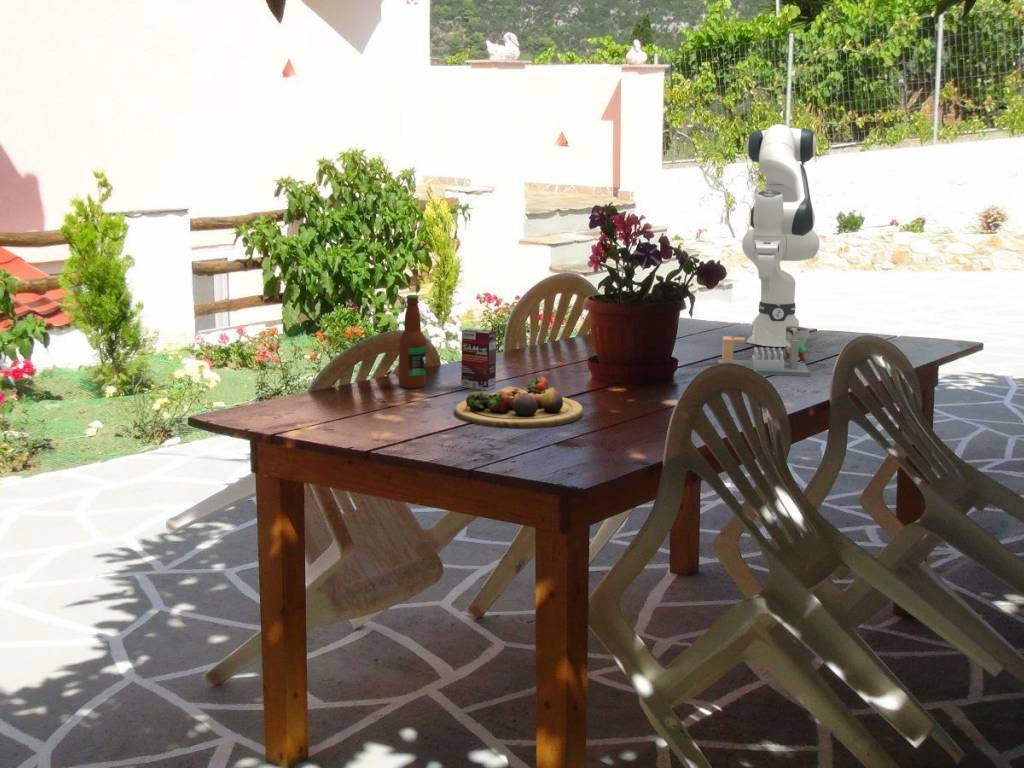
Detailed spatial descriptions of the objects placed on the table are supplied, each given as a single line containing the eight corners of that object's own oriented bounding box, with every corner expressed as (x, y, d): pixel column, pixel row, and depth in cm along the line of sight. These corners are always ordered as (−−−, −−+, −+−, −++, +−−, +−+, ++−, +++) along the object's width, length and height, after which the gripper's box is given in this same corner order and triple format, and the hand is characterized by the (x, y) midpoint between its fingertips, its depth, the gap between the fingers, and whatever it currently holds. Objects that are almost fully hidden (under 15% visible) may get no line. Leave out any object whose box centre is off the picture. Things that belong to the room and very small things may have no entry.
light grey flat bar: (752, 324, 383) (755, 320, 383) (794, 350, 383) (797, 346, 383) (753, 325, 380) (755, 321, 380) (795, 351, 380) (798, 347, 380)
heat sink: (717, 363, 393) (719, 332, 392) (804, 366, 390) (806, 335, 388) (719, 372, 378) (720, 340, 376) (809, 376, 375) (811, 344, 373)
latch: (721, 361, 388) (723, 336, 387) (743, 362, 387) (744, 337, 386) (722, 364, 382) (723, 339, 381) (744, 365, 381) (745, 340, 380)
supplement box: (460, 387, 350) (460, 330, 347) (469, 384, 354) (469, 327, 351) (488, 390, 346) (488, 332, 343) (496, 387, 350) (497, 330, 347)
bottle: (417, 389, 346) (417, 297, 341) (394, 387, 349) (394, 296, 344) (430, 385, 352) (430, 294, 347) (407, 382, 355) (407, 293, 350)
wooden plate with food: (510, 396, 341) (510, 365, 340) (608, 413, 322) (608, 380, 320) (428, 418, 317) (427, 385, 315) (529, 437, 297) (529, 403, 296)
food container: (811, 364, 395) (813, 332, 393) (791, 363, 395) (793, 331, 393) (803, 357, 407) (805, 326, 405) (784, 356, 407) (786, 325, 405)
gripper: (757, 243, 389) (755, 289, 391) (755, 247, 369) (753, 295, 372) (778, 244, 388) (776, 290, 390) (777, 248, 368) (775, 296, 370)
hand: (765, 292), depth 381 cm, fingers open, 8 cm apart
